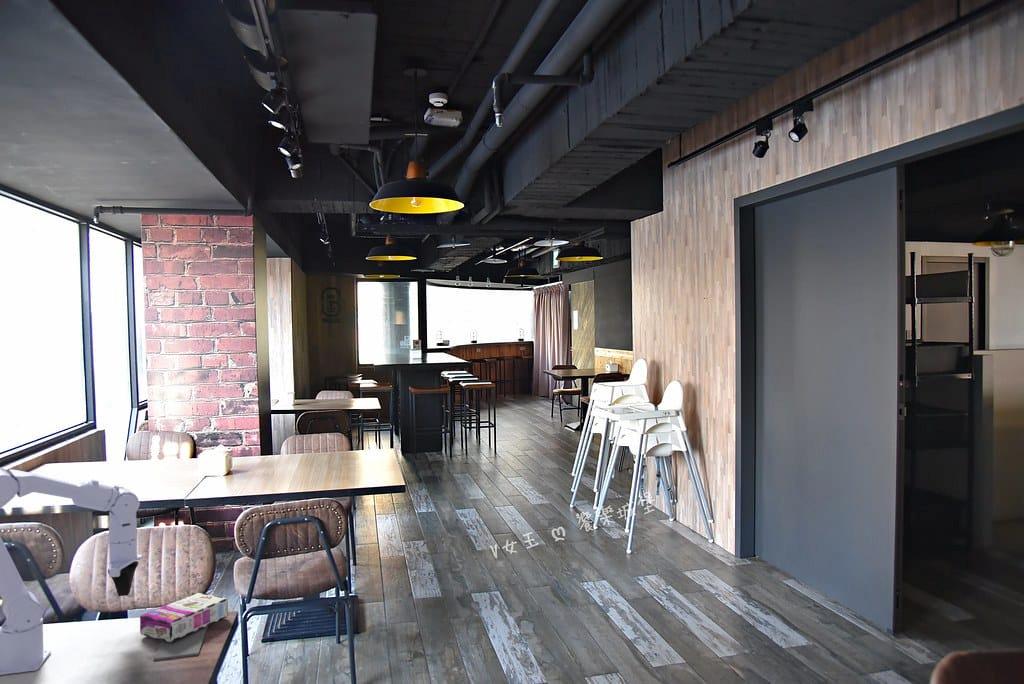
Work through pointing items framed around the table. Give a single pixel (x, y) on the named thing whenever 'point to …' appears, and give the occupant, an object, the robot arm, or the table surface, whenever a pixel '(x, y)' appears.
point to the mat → (181, 646)
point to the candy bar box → (183, 617)
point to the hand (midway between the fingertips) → (124, 594)
